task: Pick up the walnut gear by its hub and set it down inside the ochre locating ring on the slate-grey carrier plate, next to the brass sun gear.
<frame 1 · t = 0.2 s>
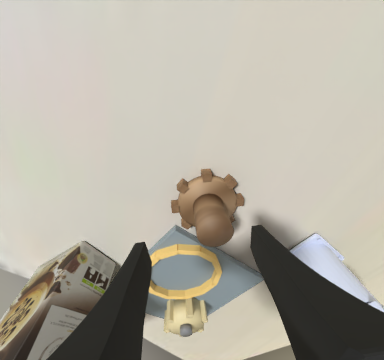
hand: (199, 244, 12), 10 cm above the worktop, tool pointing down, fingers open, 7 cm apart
planet gear: (206, 200, 22), on the worktop
carrier plate: (184, 283, 30), on the worktop
coffee box: (78, 263, 26), on the worktop
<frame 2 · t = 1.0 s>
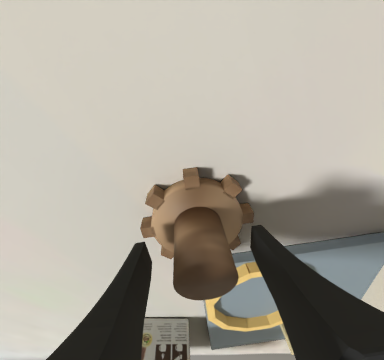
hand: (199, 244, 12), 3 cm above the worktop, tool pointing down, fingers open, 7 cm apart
planet gear: (196, 215, 15), on the worktop
carrier plate: (281, 297, 22), on the worktop
coffee box: (161, 332, 25), on the worktop
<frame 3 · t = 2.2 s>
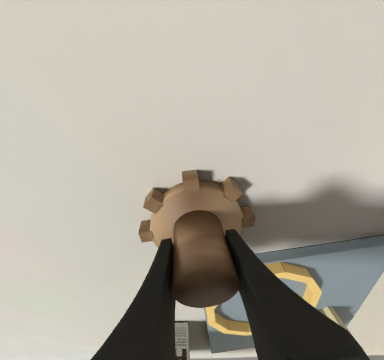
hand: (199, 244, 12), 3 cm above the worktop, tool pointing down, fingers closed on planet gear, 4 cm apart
planet gear: (196, 218, 14), on the worktop, touching gripper
carrier plate: (282, 300, 22), on the worktop
coffee box: (160, 335, 24), on the worktop
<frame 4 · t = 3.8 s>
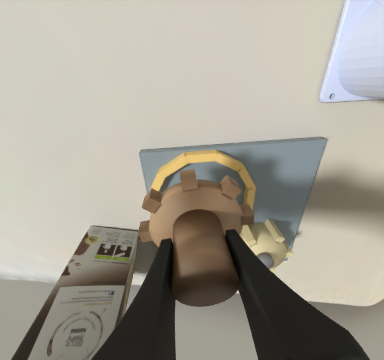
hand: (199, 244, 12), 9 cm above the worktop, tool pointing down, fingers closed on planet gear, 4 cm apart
planet gear: (195, 217, 14), point 7 cm above the worktop, touching gripper
carrier plate: (227, 213, 23), on the worktop
coffee box: (114, 250, 25), on the worktop
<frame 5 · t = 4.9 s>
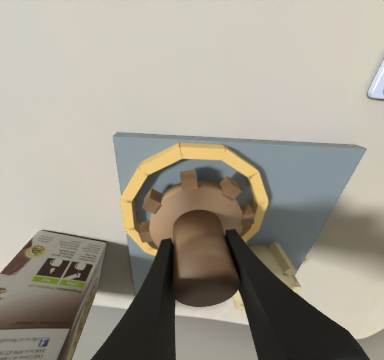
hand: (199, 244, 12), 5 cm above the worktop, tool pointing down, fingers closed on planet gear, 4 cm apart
planet gear: (195, 217, 14), point 2 cm above the worktop, touching gripper
carrier plate: (224, 230, 18), on the worktop
coffee box: (72, 263, 19), on the worktop
when the fingers open (5 cm above the worktop, at t = 5.6 s): planet gear drops 1 cm, resting on carrier plate.
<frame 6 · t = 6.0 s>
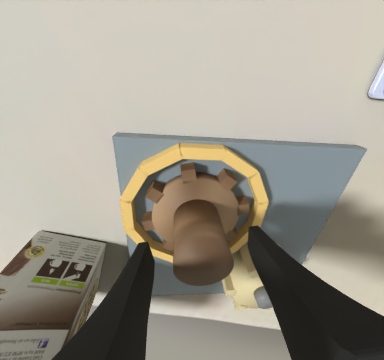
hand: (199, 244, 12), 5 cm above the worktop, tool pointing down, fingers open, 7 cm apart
planet gear: (194, 208, 15), point 1 cm above the worktop, touching carrier plate
carrier plate: (224, 230, 18), on the worktop
coffee box: (72, 263, 19), on the worktop
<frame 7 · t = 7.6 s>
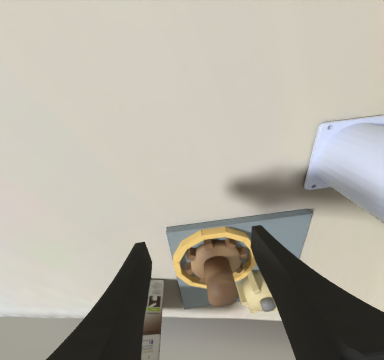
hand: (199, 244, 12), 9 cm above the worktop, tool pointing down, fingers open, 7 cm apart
planet gear: (214, 257, 26), point 1 cm above the worktop, touching carrier plate
carrier plate: (236, 263, 28), on the worktop
coffee box: (143, 293, 31), on the worktop
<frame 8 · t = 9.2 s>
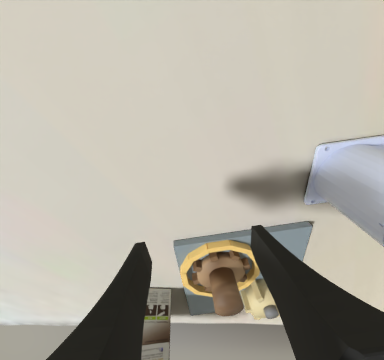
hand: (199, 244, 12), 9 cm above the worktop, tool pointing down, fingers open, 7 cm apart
planet gear: (219, 267, 27), point 1 cm above the worktop, touching carrier plate
carrier plate: (240, 272, 30), on the worktop
coffee box: (151, 301, 32), on the worktop
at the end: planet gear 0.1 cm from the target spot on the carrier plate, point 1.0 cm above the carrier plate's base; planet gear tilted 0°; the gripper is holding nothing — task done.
